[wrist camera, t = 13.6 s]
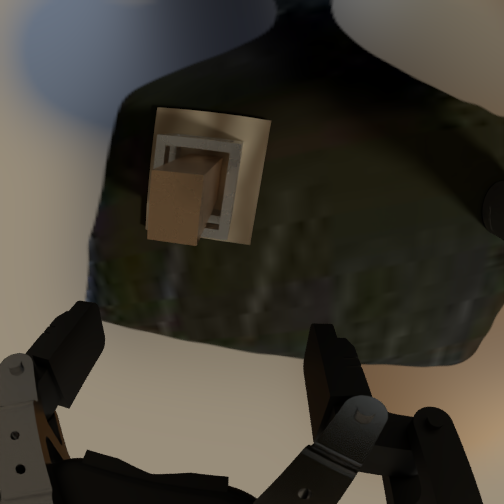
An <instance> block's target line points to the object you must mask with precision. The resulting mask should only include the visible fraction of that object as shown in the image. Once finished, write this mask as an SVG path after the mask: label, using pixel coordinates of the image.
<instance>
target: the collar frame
mask: <svg viewBox="0 0 504 504" xmlns="http://www.w3.org/2000/svg"><path fill="white" fill-rule="evenodd" d="M243 144H244V141H237V140H230V139H223V138H215V137H207V136H199V135H190V134H180V133H169V134H157V140H156V149H155V158H154V167H153V169H155V168H157V167H159V166H162V165H164V164H166V163H169V162H171V161H173V160H176V159H178V158H180V157H181V150H182V147H188V148H196V149H204V150H212V151H220V152H227V153H230V155H229V162H228V168H227V175H226V182H225V189H224V196H223V203H222V210H218V209H213V211H212V213H211V215H210V217H209V220H208V222H207V224H206V226H205V228H204V230H203V233H202V235H201V237H206V238H213V239H219V240H226V241H227V239H228V234H229V229H230V225H231V220H232V214H233V207H234V201H235V194H236V188H237V181H238V175H239V169H240V162H241V156H242V150H243Z"/></svg>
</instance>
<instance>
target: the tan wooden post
mask: <svg viewBox="0 0 504 504" xmlns="http://www.w3.org/2000/svg"><path fill="white" fill-rule="evenodd" d="M222 162H223V157H219V156H211V155H202V154H193V153H190V154H188V155H185V156H183V157H180V158H178V159H176V160H173V161H171V162H169V163H166V164H164V165H162V166H159V167H157V168H155V169H152V171H151V183H150V198H149V215H148V238H147V239H151V240H158V241H165V242H172V243H179V244H187V245H194V246H197V244H198V241H199V239H200V237H201V235H202V233H203V230H204V228H205V226H206V224H207V222H208V220H209V217H210V215H211V213H212V211H213V209H214V207H215V205H216V202H217V200H218V192H219V184H220V177H221V169H222Z"/></svg>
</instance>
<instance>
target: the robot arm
mask: <svg viewBox="0 0 504 504" xmlns="http://www.w3.org/2000/svg"><path fill="white" fill-rule="evenodd" d="M482 216H483V222H484V225H485V227H486V228H487V230H488V231H489V232H490V233H492V234H494V235H496V236H497V237H499V238H501V239H502V240H504V181H499V182H496V183H495V184H494V185H493V186H492V187H491V188H490V189H489V191H488V192H487V194H486V197H485V199H484V203H483V209H482ZM104 345H105V335H104V330H103V326H102V321H101V316H100V311H99V307H98V305H97V304H96V303H92V302H85V301H77V302H76V303H75V305H74V306H73V307H72V308H71V309H70V310H69V311H66V312H65V313H63V314H61V315H59V316H58V317H57V318H55V319H54V321H53V322H52V323H51V324H50V327H47V329H46V330H45V331H44V333H42V334H41V336H40V337H39V338H38V339H37V340H36V342H35V343H34V344H33V345H32V346H31V348H30V349H29V350H28V351H27V352H26V354H22V353H17V354H13V355H10V356H8V357H7V358H5V359H4V360H3V361H2V363H1V364H0V504H337V503H338V501H339V500H340V499H341V497H342V496H343V494H344V493H345V491H346V490H347V488H348V487H349V485H350V484H351V482H352V481H353V479H354V478H355V476H356V475H357V473H358V472H364V473H370V474H376V475H382V478H383V484H384V490H385V495H386V501H387V504H483V502H482V499H481V496H480V493H479V490H478V487H477V484H476V481H475V478H474V475H473V472H472V470H471V467H470V464H469V461H468V459H467V456H466V454H465V451H464V448H463V446H462V444H461V441H460V438H459V436H458V434H457V431H456V429H455V426H454V424H453V421H452V419H451V418H450V417H449V415H448V414H447V413H446V412H444V411H443V410H441V409H439V408H436V407H424V408H422V409H420V410H418V411H417V412H416V414H415V415H414V417H409V416H403V415H397V414H392V413H389V412H387V409H386V407H385V406H384V405H383V403H381V402H380V401H379V400H377V399H375V398H373V397H372V395H371V392H370V389H369V386H368V383H367V380H366V378H365V375H364V372H363V369H362V367H361V364H360V361H359V359H358V355H357V353H356V350H355V347H354V346H353V345H352V344H351V343H350V342H349V341H348V340H347V339H346V338H337V335H336V332H335V329H334V326H333V325H332V324H311V327H310V331H309V336H308V341H307V346H306V351H305V356H304V365H303V367H304V368H303V369H304V378H305V385H306V391H307V398H308V405H309V412H310V420H311V427H312V434H313V442H314V444H313V445H308V446H306V447H305V448H304V449H303V450H302V451H301V453H300V454H299V455H298V456H297V457H296V458H295V460H293V462H292V463H291V464H290V465H289V466H288V467H287V468H286V469H285V470H284V472H283V473H282V474H281V475H280V476H279V477H278V478H277V479H276V480H275V481H274V482H273V483H272V484H271V485H270V486H269V488H267V489H266V491H265V492H263V494H261V495H260V497H259V498H255V497H254V496H252V495H250V494H248V493H246V492H245V491H242V490H240V489H237V488H234V487H231V486H228V477H225V476H213V475H205V474H197V473H178V474H150V473H147V472H145V471H143V470H141V469H138V468H136V467H134V466H132V465H130V464H128V463H126V462H124V461H122V460H120V459H118V458H114V457H111V456H107V455H103V454H100V453H97V452H93V451H90V450H87V451H86V453H85V456H84V458H72V459H71V458H70V456H69V454H68V452H67V448H66V445H65V442H64V438H63V434H62V431H61V427H60V423H59V419H58V415H57V413H56V411H55V410H56V408H57V406H58V405H59V406H63V407H66V408H70V406H71V405H72V403H73V401H74V399H75V397H76V396H77V394H78V392H79V390H80V389H81V387H82V385H83V383H84V382H85V380H86V378H87V376H88V374H89V373H90V371H91V370H92V368H93V366H94V364H95V363H96V361H97V359H98V358H99V356H100V354H101V353H102V351H103V349H104Z"/></svg>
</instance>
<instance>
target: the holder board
mask: <svg viewBox="0 0 504 504" xmlns="http://www.w3.org/2000/svg"><path fill="white" fill-rule="evenodd" d="M270 125H271V121H269V120H263V119H257V118H251V117H244V116H237V115H230V114H222V113H214V112H205V111H196V110H185V109H173V108H159V107H158V108H157V115H156V122H155V129H154V137H153V146H152V154H151V164H150V174H149V186H148V198H147V213H146V230H148V215H149V198H150V183H151V171H152V169H153V167H154V158H155V149H156V140H157V134H169V133H180V134H190V135H199V136H207V137H215V138H223V139H230V140H237V141H244V144H243V150H242V156H241V162H240V169H239V175H238V181H237V188H236V194H235V201H234V207H233V214H232V220H231V225H230V229H229V234H228V239H227V242H234V243H240V244H247V245H250V241H251V235H252V229H253V223H254V218H255V212H256V206H257V200H258V194H259V188H260V183H261V177H262V171H263V165H264V160H265V154H266V148H267V142H268V136H269V131H270ZM190 153H193V154H202V155H211V156H219V157H223V162H222V169H221V177H220V184H219V192H218V200H217V202H216V205H215V207H214V209H218V210H222V203H223V196H224V189H225V182H226V175H227V168H228V162H229V155H230V153H227V152H220V151H212V150H204V149H196V148H188V147H182V150H181V157H183V156H185V155H188V154H190ZM200 238H206V237H200ZM207 239H213V238H207ZM214 240H219V239H214ZM221 241H226V240H221Z"/></svg>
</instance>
